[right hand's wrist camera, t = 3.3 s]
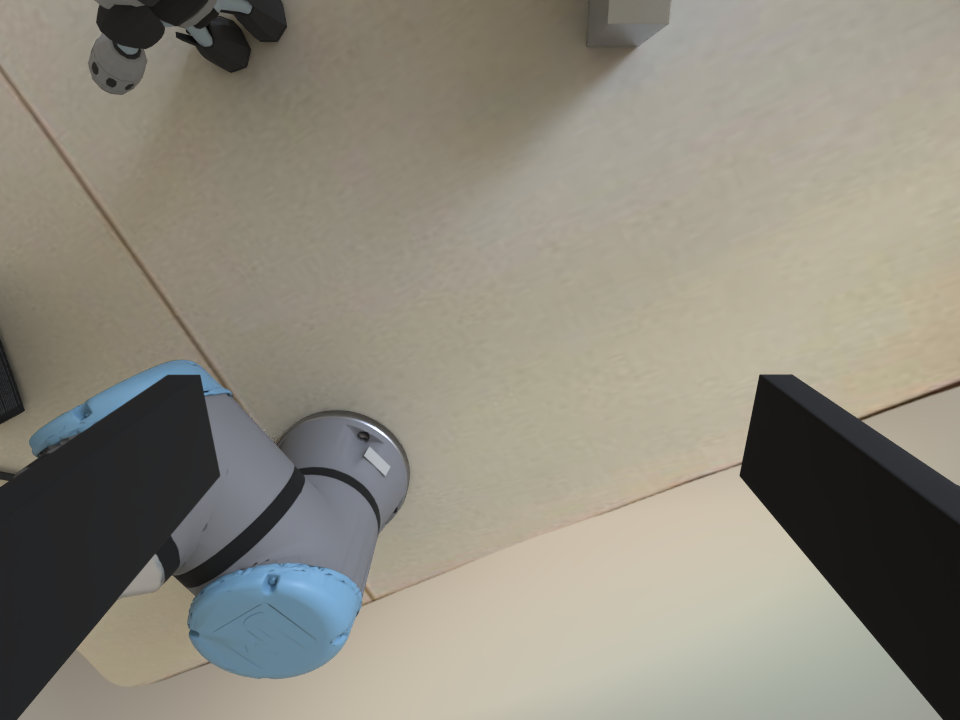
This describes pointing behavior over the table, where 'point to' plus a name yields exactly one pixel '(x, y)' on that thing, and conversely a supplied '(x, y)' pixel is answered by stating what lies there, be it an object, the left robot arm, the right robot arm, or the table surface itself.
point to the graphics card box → (8, 391)
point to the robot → (177, 34)
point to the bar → (625, 21)
